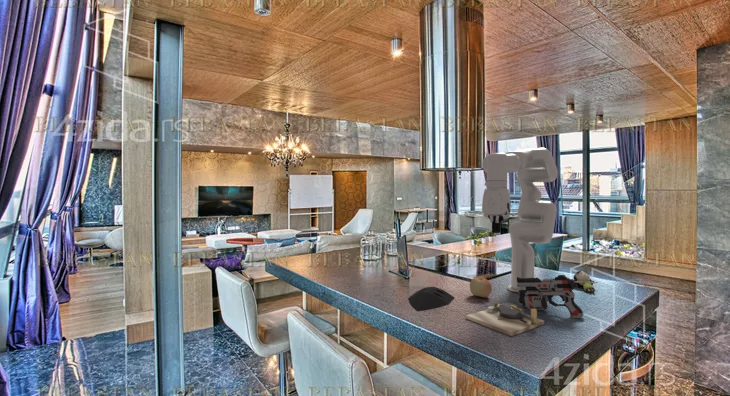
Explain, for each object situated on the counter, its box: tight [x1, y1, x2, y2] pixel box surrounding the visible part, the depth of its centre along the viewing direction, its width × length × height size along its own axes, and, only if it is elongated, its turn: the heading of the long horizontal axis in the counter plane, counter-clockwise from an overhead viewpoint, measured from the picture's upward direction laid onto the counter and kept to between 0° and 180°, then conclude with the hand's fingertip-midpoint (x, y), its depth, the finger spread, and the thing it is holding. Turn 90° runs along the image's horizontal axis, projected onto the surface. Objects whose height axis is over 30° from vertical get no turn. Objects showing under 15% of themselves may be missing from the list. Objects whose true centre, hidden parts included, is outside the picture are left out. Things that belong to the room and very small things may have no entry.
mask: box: [407, 286, 455, 312], centre depth 146 cm, size 17×5×30 cm
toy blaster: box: [517, 274, 584, 319], centre depth 132 cm, size 4×21×15 cm, turn 51°
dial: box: [499, 302, 538, 325], centre depth 122 cm, size 14×8×5 cm, turn 23°
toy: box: [572, 270, 599, 294], centre depth 163 cm, size 10×7×15 cm
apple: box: [469, 276, 493, 298], centre depth 151 cm, size 9×9×8 cm
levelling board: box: [465, 302, 545, 337], centre depth 123 cm, size 18×18×4 cm
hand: (496, 232), depth 137 cm, fingers closed
